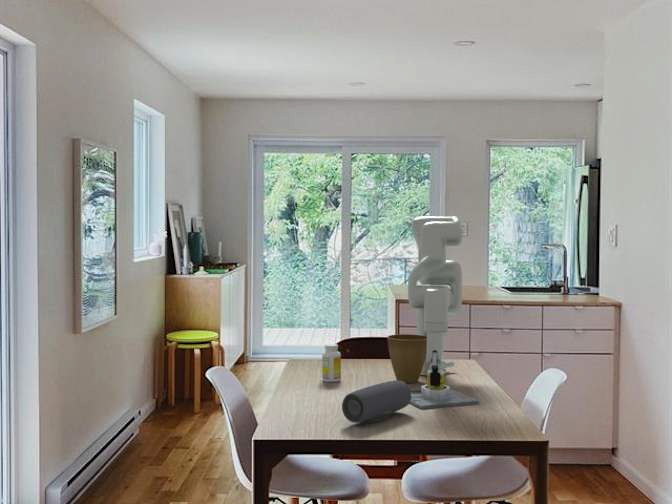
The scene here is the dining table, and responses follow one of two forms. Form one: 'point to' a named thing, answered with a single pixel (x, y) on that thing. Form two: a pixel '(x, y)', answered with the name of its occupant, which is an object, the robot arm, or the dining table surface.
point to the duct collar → (439, 398)
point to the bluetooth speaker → (376, 402)
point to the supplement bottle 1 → (331, 363)
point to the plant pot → (407, 356)
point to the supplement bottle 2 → (440, 379)
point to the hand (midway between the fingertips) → (435, 382)
